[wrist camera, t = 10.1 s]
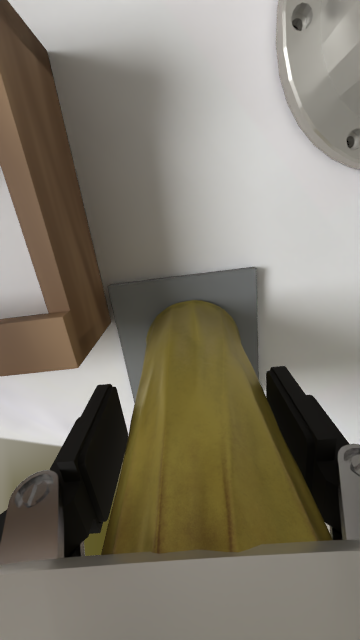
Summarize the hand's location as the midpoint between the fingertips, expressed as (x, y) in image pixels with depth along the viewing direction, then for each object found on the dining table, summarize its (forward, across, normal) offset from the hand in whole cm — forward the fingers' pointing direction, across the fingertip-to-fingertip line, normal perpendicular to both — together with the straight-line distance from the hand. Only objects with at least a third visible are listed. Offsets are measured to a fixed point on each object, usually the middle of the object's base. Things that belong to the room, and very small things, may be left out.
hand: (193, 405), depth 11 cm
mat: (+7, 0, 0) cm, 7 cm away
